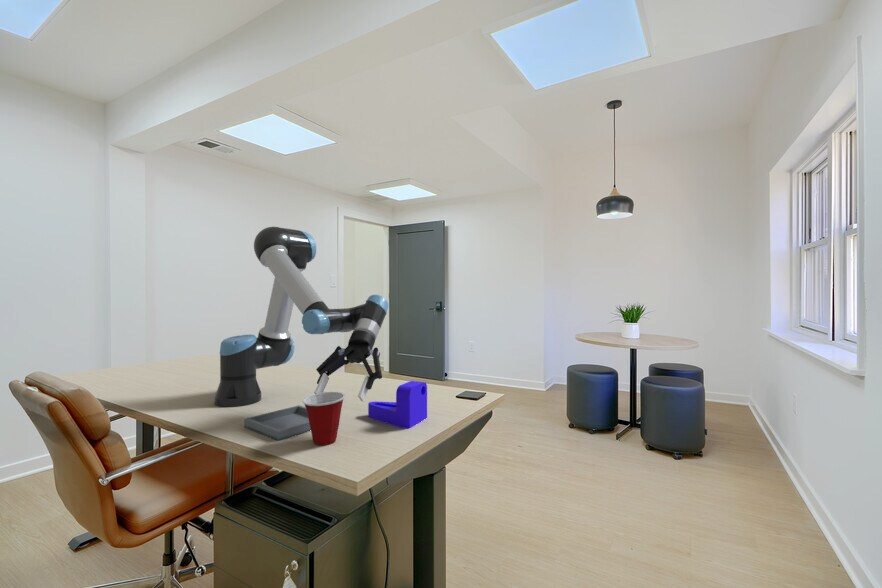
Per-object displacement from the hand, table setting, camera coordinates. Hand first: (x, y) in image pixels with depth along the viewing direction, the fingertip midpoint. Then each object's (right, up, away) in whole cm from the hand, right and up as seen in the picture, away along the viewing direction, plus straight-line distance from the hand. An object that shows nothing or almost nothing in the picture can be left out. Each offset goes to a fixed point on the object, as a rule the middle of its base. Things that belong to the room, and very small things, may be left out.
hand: (338, 397), depth 112 cm
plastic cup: (-3, -11, -5) cm, 12 cm away
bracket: (+13, -11, +15) cm, 23 cm away
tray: (-17, -10, +8) cm, 21 cm away
